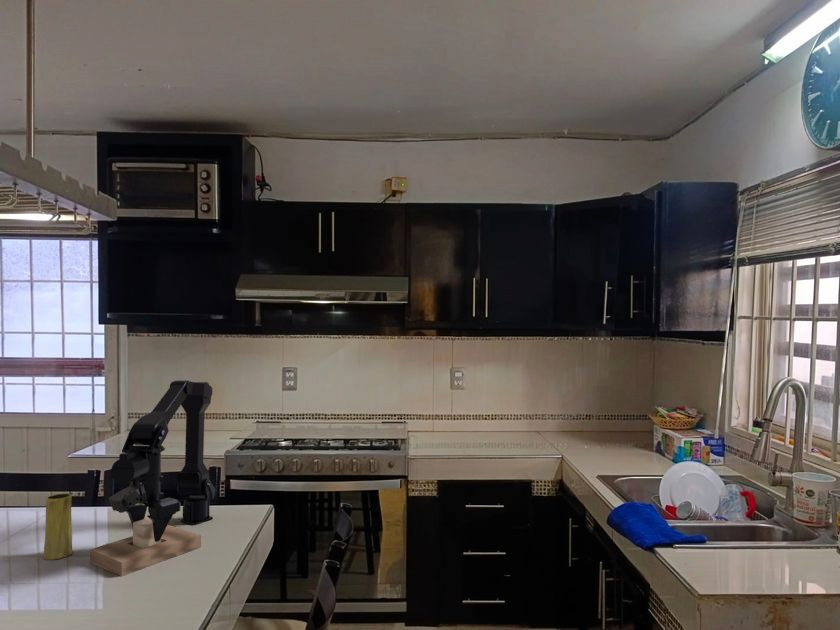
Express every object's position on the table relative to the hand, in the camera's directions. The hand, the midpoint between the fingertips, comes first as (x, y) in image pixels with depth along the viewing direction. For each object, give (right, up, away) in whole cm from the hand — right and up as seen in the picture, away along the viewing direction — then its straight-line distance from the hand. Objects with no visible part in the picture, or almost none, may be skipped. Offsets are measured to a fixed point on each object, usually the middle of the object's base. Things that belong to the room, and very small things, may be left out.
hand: (147, 537), depth 137 cm
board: (0, -4, 0) cm, 4 cm away
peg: (0, -4, 0) cm, 4 cm away
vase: (-22, -4, 0) cm, 22 cm away
